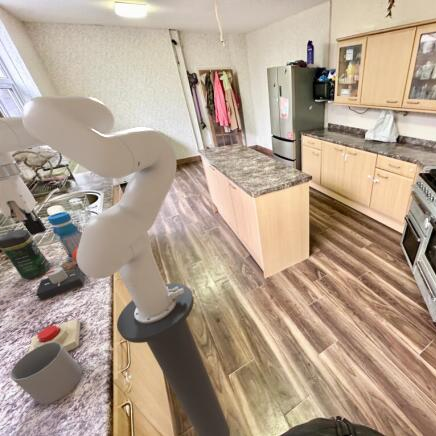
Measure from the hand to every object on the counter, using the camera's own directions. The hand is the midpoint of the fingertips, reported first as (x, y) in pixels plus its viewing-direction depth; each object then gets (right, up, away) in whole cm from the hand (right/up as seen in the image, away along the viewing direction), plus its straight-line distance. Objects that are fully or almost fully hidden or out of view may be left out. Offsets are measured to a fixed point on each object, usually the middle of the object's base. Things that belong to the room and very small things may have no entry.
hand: (39, 232), depth 69 cm
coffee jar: (-30, -18, +28) cm, 45 cm away
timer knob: (-11, -19, +18) cm, 28 cm away
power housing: (+8, -32, -3) cm, 33 cm away
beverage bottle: (-22, -12, +38) cm, 45 cm away
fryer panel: (-11, -21, +19) cm, 31 cm away
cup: (+19, -36, -13) cm, 43 cm away
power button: (+8, -29, -5) cm, 30 cm away
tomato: (-14, -14, +33) cm, 38 cm away
